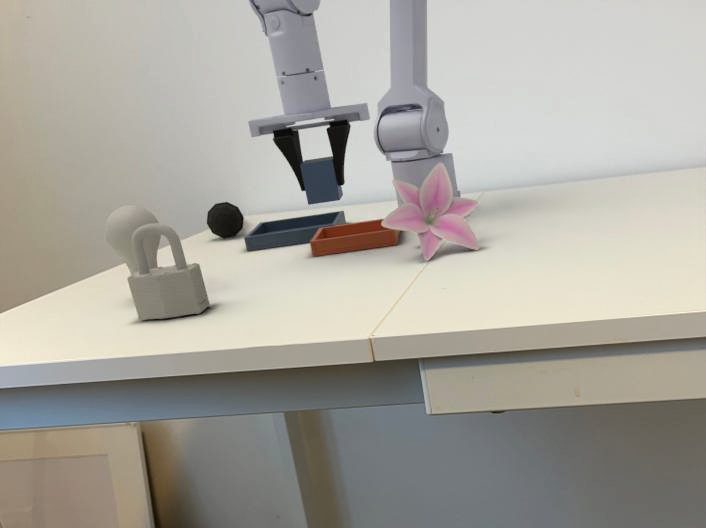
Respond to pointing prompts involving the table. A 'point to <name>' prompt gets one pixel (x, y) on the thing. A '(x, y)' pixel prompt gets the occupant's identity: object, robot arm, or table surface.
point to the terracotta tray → (352, 237)
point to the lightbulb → (121, 233)
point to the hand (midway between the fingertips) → (323, 187)
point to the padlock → (165, 280)
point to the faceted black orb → (225, 220)
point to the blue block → (320, 180)
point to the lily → (433, 213)
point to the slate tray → (290, 230)
